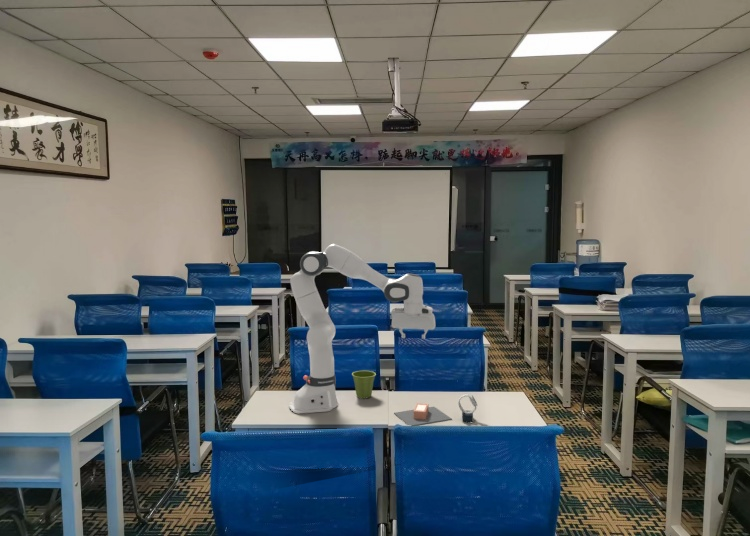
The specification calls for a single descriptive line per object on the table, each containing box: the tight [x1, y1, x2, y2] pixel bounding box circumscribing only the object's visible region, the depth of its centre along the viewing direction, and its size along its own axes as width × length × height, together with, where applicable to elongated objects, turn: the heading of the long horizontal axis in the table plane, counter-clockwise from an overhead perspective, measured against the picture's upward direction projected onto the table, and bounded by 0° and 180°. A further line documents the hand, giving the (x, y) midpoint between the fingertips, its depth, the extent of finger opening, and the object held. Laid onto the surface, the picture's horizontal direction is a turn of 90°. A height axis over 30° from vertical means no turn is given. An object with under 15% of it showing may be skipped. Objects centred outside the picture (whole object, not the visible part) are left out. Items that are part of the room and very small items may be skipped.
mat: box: [393, 406, 452, 426], centre depth 218 cm, size 20×16×1 cm
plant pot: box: [351, 370, 377, 399], centre depth 245 cm, size 12×12×11 cm
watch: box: [457, 393, 478, 423], centre depth 213 cm, size 6×8×11 cm
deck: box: [413, 402, 429, 419], centre depth 219 cm, size 3×5×10 cm
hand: (413, 338), depth 232 cm, fingers open, 8 cm apart
